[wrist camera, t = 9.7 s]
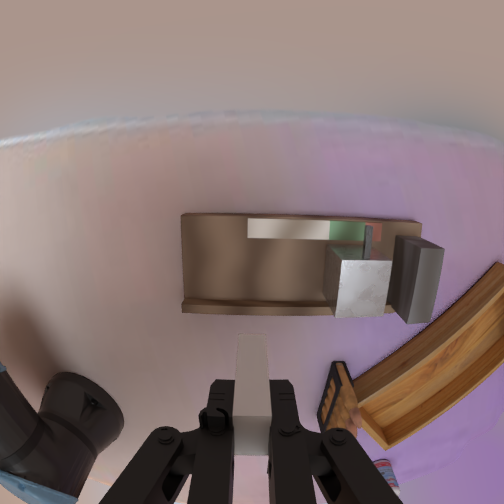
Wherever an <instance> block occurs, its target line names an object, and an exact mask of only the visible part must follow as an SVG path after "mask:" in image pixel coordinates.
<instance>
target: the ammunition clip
mask: <svg viewBox="0 0 504 504" xmlns="http://www.w3.org/2000/svg"><path fill="white" fill-rule="evenodd" d="M353 387H354V383H353V381H352V378H351V376H350V373H349V371H348V368H347V366H346V363H345V362H341V361H333V362H332V364H331V368H330V372H329V375H328V379H327V382H326V386H325V389H324V393H323V396H322V399H321V403H320V406H319V409H318V412H317V419H318V423H319V427H320V431H321V433H323V434H324V433H325V432H326V431H327V430H329V429H331V428H337V427H338V428H344V429H346V430H349V431H350V432H351V433H352V434H353V435H354V437H355V438H356V437H357V427H358V428H359V429H360V428H361V426H362V418H361V413H360V411H359V407H358V402H357V398H356V395H355V393H354V390H353Z"/></svg>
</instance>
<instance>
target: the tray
mask: <svg viewBox="0 0 504 504" xmlns="http://www.w3.org/2000/svg"><path fill="white" fill-rule="evenodd" d="M503 363H504V264H502V263H499V262H497V263H496V264H495V265H494V266H493V267H492V268H491V269H490V270H489V271H488V272H487V273H486V274H485V275H484V276H483V277H482V278H481V279H480V280H479V281H478V282H477V283H476V284H475V285H474V286H473V287H472V288H471V289H470V290H469V291H468V292H467V293H466V294H465V295H464V296H463V297H462V298H461V299H460V300H458V301H457V302H456V303H455V304H454V305H453V306H452V307H451V308H450V309H448V310H447V311H446V312H445V313H444V314H443V315H441V316H440V317H439V318H438V319H437V320H436V321H434V322H433V323H432V324H431V325H430V326H428V327H427V328H426V329H425V330H423V331H422V332H421V333H419V334H418V335H417V336H416V337H414V338H413V339H412V340H410V341H409V342H408V343H406V344H405V345H404V346H402V347H401V348H400V349H398V350H397V351H396V352H394V353H393V354H391V355H390V356H389V357H387V358H386V359H384V360H383V361H381V362H380V363H378V364H377V365H376V366H374V367H373V368H371V369H370V370H368V371H367V372H365V373H364V374H362V375H360V376H359V377H357V378H356V379H354V380H353V383H354V387H353V390H354V393H355V395H356V398H357V402H358V407H359V411H360V413H361V418H362V426H361V427H362V428H363V429H364V430H365V431H366V432H367V433H368V434H369V435H370V436H371V437H372V438H373V439H374V440H375V441H376V442H377V443H378V444H379V445H380V446H381V447H382V448H383V449H384V450H385V451H386V450H388V449H390V448H391V447H393V446H395V445H397V444H398V443H400V442H402V441H403V440H405V439H407V438H408V437H410V436H411V435H413V434H414V433H416V432H417V431H419V430H421V429H422V428H424V427H425V426H426V425H428V424H429V423H431V422H432V421H434V420H435V419H437V418H438V417H439V416H441V415H442V414H443V413H445V412H446V411H448V410H449V409H450V408H452V407H453V406H454V405H455V404H457V403H458V402H459V401H461V400H462V399H463V398H464V397H466V396H467V395H468V394H469V393H470V392H472V391H473V390H474V389H475V388H476V387H478V386H479V385H480V384H481V383H482V382H483V381H484V380H486V379H487V378H488V377H489V376H490V375H491V374H492V373H493V372H494V371H495V370H496V369H497V368H498V367H499V366H501V365H502V364H503Z"/></svg>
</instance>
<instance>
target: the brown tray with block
mask: <svg viewBox="0 0 504 504" xmlns="http://www.w3.org/2000/svg"><path fill="white" fill-rule="evenodd" d="M365 225H371V226H373V236H372V247H373V248H375V249H376V250H378V251H379V252H381V253H382V254H384V255H385V256H386V257H388V258H389V259H391V260H392V267H391V274H390V281H389V287H388V293H387V299H386V304H385V309H384V313H394V312H396V313H397V314H398V315H399V316H400V317H401V318H402V319H403V320H404V321H405V323H406V324H415V323H426V322H430V320H431V316H432V312H433V307H434V303H435V299H436V294H437V289H438V285H439V279H440V274H441V269H442V263H443V257H444V250H445V249H444V248H442V247H440V246H437V245H435V244H433V243H431V242H429V241H427V240H425V239H422V238H421V229H422V223H419V222H416V221H410V220H395V219H378V218H360V217H339V216H315V215H284V214H233V213H185V214H183V215H181V238H182V262H183V281H184V296H185V299H184V301H183V302H182V304H181V305H182V313H201V314H226V315H271V316H313V315H333V313H332V311H331V309H330V307H329V305H328V303H327V301H326V299H325V298H324V296H323V294H322V293H323V283H324V272H325V261H326V248H327V244H339V245H363V241H364V230H365Z"/></svg>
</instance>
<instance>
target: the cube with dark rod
mask: <svg viewBox="0 0 504 504" xmlns="http://www.w3.org/2000/svg"><path fill="white" fill-rule="evenodd" d="M372 236H373V226H371V225H365V230H364V241H363V245H339V244H327V248H326V261H325V272H324V283H323V293H322V294H323V296H324V298H325V299H326V301H327V303H328V305H329V307H330V309H331V311H332V313H333V315H334V317H335V318H352V317H376V316H383V315H384V309H385V304H386V299H387V293H388V287H389V281H390V274H391V267H392V260H391V259H389V258H388V257H386V256H385V255H384V254H382V253H381V252H379V251H378V250H376V249H375V248H373V247H372Z"/></svg>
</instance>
